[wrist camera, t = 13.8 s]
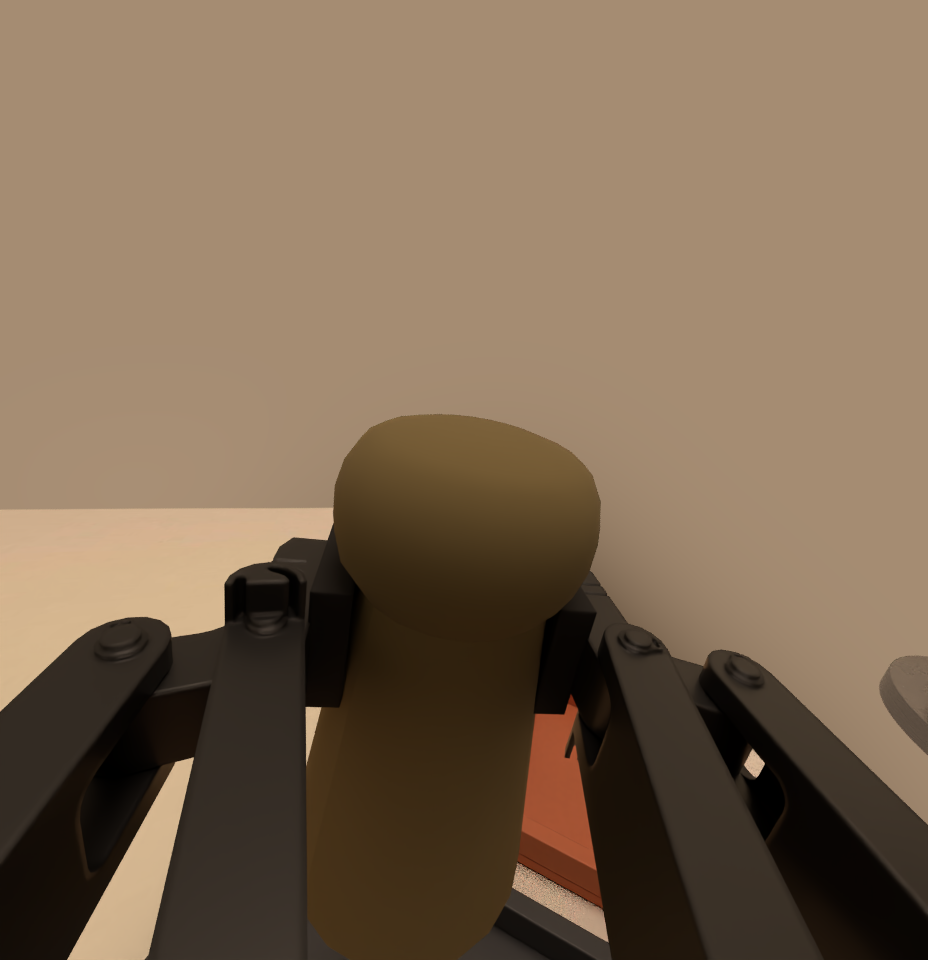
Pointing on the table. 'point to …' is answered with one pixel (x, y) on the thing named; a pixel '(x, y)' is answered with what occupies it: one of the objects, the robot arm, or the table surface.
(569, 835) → the terracotta tray
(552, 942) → the charcoal tray
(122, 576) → the table surface
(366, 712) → the cork
